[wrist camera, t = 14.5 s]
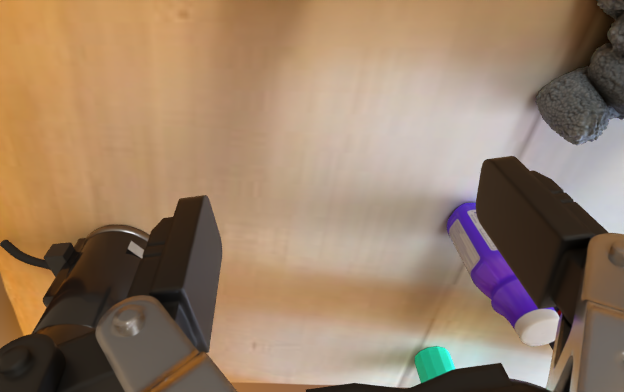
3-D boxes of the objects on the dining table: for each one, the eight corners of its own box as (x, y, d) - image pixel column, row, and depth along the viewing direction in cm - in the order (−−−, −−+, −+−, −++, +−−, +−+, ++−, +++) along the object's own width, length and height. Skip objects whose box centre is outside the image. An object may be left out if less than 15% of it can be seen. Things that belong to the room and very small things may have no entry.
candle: (432, 342, 66) (459, 416, 57) (456, 353, 69) (486, 426, 59) (406, 360, 69) (428, 434, 59) (430, 371, 71) (455, 444, 62)
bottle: (434, 227, 52) (494, 346, 38) (458, 193, 49) (532, 307, 35) (481, 240, 54) (554, 358, 40) (507, 208, 51) (595, 322, 37)
